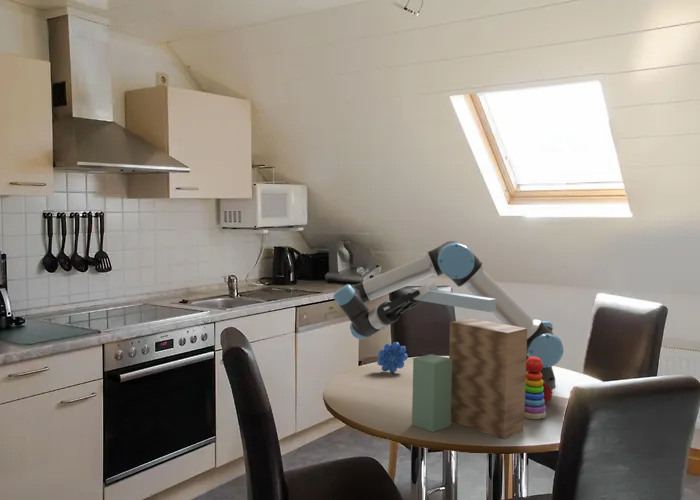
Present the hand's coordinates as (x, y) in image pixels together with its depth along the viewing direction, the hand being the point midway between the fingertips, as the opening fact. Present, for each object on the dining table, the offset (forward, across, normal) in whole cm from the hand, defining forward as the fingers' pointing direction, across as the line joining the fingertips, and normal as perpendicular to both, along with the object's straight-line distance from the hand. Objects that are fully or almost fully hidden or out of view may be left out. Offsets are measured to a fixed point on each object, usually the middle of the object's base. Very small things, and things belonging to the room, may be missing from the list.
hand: (431, 287), depth 203 cm
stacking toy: (+3, -18, -47) cm, 50 cm away
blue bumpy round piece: (-51, -22, -16) cm, 58 cm away
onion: (0, -31, -45) cm, 54 cm away
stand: (-1, 0, -44) cm, 44 cm away
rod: (+5, 0, -8) cm, 9 cm away
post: (-10, +12, -39) cm, 42 cm away
